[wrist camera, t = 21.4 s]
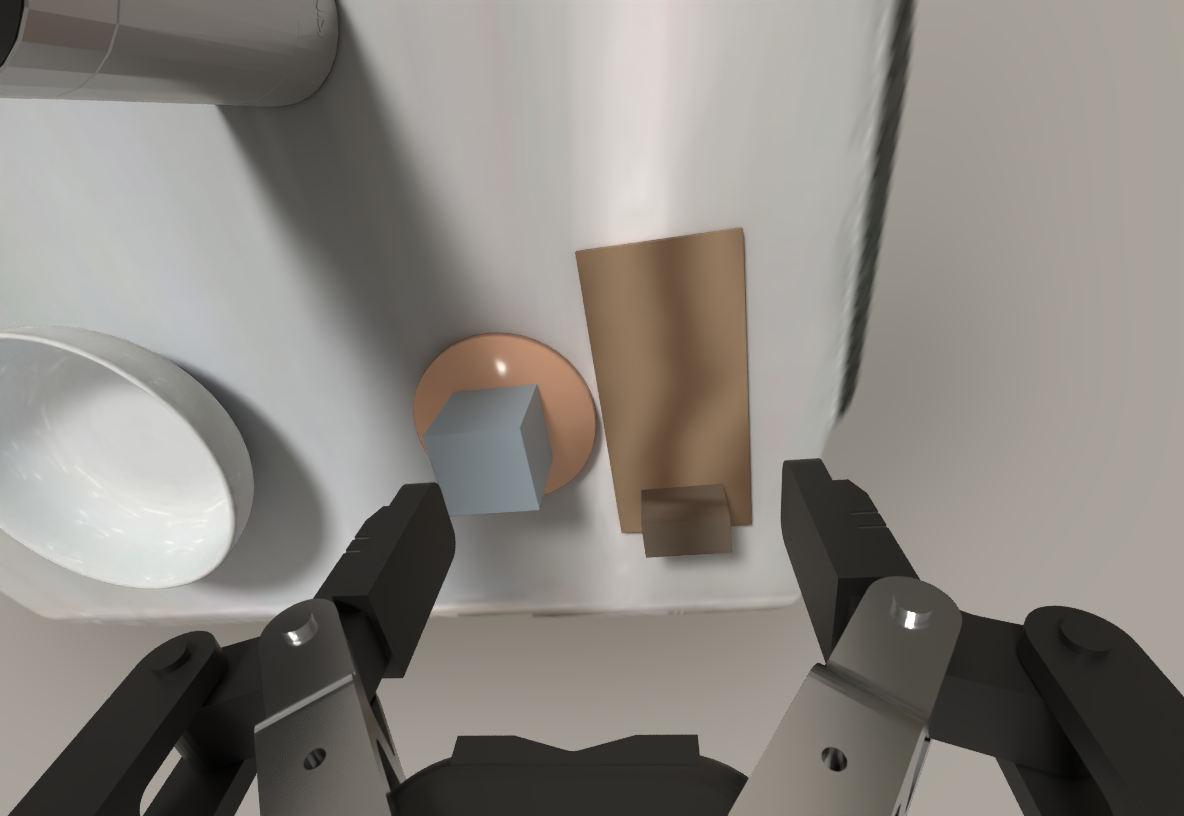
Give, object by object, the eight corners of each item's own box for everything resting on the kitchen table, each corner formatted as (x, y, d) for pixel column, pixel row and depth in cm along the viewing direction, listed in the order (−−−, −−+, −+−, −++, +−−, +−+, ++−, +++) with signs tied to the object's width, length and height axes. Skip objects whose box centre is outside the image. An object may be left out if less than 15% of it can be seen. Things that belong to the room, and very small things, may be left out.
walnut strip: (622, 528, 44) (620, 569, 40) (576, 251, 34) (567, 268, 30) (750, 520, 42) (761, 561, 38) (741, 227, 33) (755, 242, 29)
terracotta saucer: (446, 496, 44) (442, 505, 43) (396, 344, 38) (389, 351, 37) (608, 483, 42) (607, 492, 41) (580, 321, 36) (578, 327, 35)
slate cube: (474, 464, 41) (449, 516, 35) (452, 392, 38) (422, 436, 33) (552, 458, 40) (539, 510, 35) (536, 383, 37) (519, 427, 32)
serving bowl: (-38, 310, 40) (-161, 345, 34) (227, 288, 37) (147, 321, 31) (106, 535, 49) (31, 594, 43) (325, 529, 47) (278, 590, 41)
